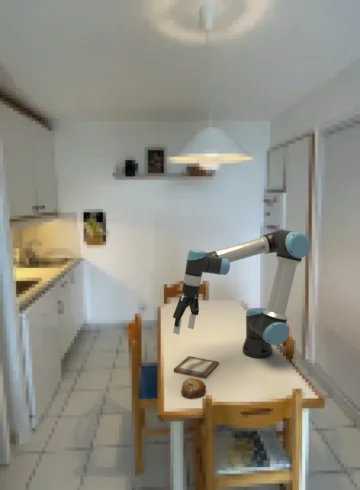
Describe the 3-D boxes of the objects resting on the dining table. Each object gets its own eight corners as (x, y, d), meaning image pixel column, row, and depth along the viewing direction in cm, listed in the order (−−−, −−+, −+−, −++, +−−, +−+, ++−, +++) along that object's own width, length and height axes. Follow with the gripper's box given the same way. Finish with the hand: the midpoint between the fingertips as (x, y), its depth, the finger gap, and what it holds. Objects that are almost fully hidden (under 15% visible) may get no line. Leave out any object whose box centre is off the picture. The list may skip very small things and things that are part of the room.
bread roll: (184, 395, 160) (176, 379, 159) (206, 384, 160) (198, 368, 159) (187, 407, 151) (178, 391, 149) (209, 396, 151) (201, 379, 150)
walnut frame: (218, 364, 181) (218, 361, 181) (205, 378, 167) (205, 375, 167) (188, 358, 188) (188, 355, 188) (173, 372, 174) (173, 368, 174)
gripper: (196, 280, 179) (189, 324, 180) (170, 284, 157) (161, 333, 158) (210, 284, 175) (203, 328, 176) (185, 288, 153) (177, 338, 155)
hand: (183, 330), depth 167 cm, fingers open, 13 cm apart
